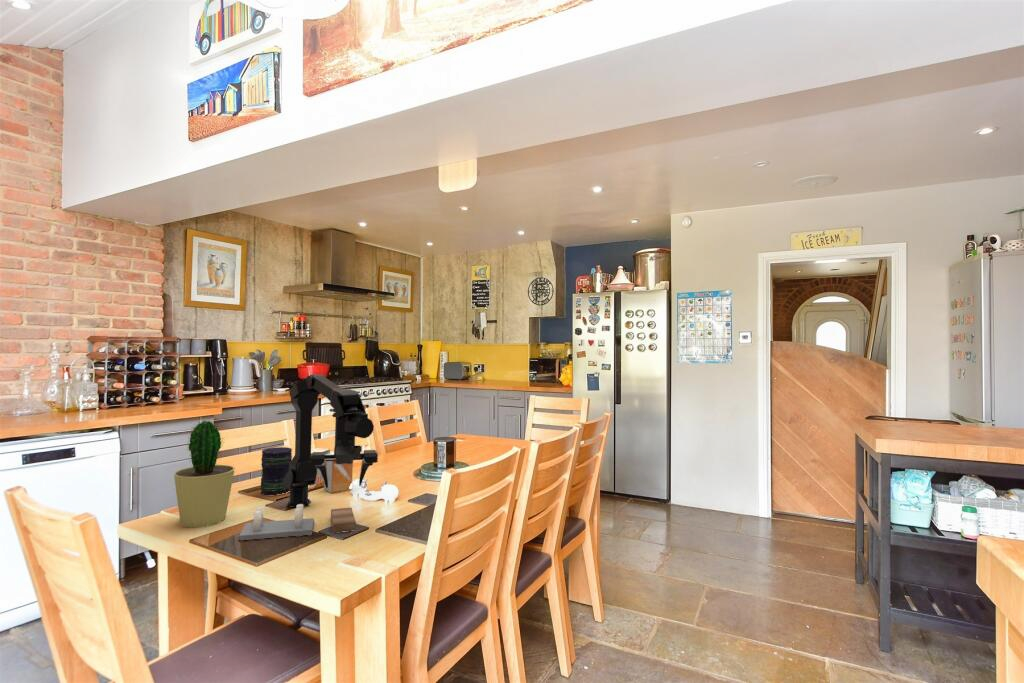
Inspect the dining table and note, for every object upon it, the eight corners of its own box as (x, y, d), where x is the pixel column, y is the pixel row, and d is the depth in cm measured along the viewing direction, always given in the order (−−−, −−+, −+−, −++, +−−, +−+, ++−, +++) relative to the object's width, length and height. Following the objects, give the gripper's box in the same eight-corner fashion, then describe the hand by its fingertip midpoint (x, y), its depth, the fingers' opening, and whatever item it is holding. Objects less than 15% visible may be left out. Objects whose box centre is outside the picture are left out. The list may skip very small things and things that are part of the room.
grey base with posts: (246, 528, 142) (246, 505, 143) (314, 523, 148) (314, 500, 148) (238, 541, 133) (239, 516, 133) (311, 535, 139) (312, 511, 139)
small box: (331, 493, 178) (332, 456, 178) (323, 489, 183) (324, 454, 183) (352, 489, 184) (353, 454, 184) (344, 486, 188) (345, 451, 189)
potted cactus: (241, 520, 148) (244, 419, 149) (181, 534, 137) (185, 424, 138) (223, 508, 159) (226, 414, 159) (165, 520, 147) (169, 418, 148)
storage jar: (271, 487, 184) (272, 446, 184) (296, 489, 183) (297, 447, 183) (254, 495, 174) (255, 451, 175) (280, 496, 173) (281, 453, 173)
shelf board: (330, 519, 153) (330, 509, 153) (351, 517, 155) (351, 507, 155) (332, 535, 140) (333, 524, 140) (355, 532, 142) (355, 522, 142)
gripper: (309, 439, 138) (307, 496, 137) (379, 437, 143) (377, 492, 143) (312, 432, 148) (310, 485, 148) (377, 431, 154) (375, 482, 154)
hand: (343, 486), depth 148 cm, fingers open, 9 cm apart
